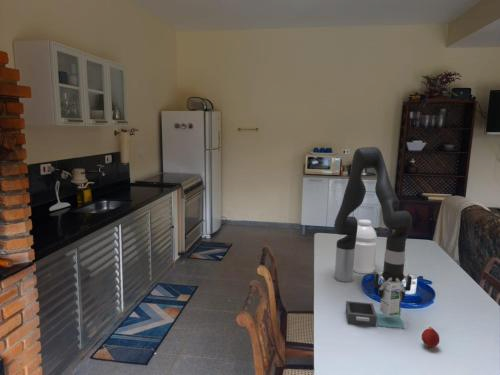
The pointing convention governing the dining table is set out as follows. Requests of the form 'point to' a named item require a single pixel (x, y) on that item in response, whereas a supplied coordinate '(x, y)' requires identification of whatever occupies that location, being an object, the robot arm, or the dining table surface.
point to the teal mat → (389, 321)
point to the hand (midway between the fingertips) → (390, 298)
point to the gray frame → (361, 318)
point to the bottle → (365, 248)
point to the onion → (430, 337)
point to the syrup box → (391, 298)
